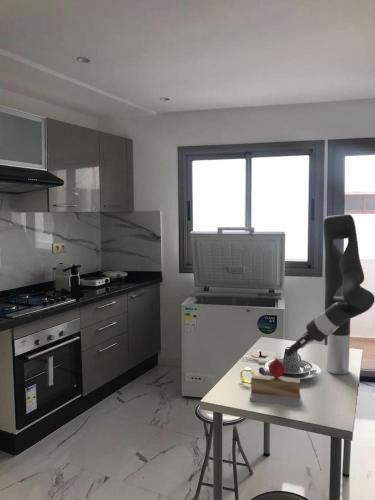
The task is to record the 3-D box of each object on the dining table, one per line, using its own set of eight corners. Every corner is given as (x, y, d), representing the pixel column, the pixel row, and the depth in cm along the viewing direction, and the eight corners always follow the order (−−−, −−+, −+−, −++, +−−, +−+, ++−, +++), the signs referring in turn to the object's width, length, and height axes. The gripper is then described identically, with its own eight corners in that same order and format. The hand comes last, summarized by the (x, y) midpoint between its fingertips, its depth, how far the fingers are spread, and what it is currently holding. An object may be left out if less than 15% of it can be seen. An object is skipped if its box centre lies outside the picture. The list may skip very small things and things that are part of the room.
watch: (255, 383, 178) (256, 369, 177) (252, 385, 175) (253, 371, 174) (241, 379, 181) (242, 365, 180) (239, 381, 178) (240, 367, 177)
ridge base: (253, 387, 172) (253, 384, 172) (299, 392, 168) (299, 389, 167) (249, 400, 161) (249, 397, 161) (299, 406, 156) (299, 403, 156)
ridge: (252, 389, 168) (252, 374, 167) (299, 394, 163) (299, 378, 163) (251, 392, 165) (251, 377, 164) (299, 398, 160) (299, 382, 159)
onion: (286, 377, 165) (286, 356, 164) (281, 382, 160) (282, 361, 159) (271, 374, 168) (272, 354, 167) (266, 379, 163) (267, 358, 162)
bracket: (274, 370, 192) (274, 364, 191) (291, 383, 178) (292, 377, 177) (245, 374, 188) (245, 368, 187) (260, 388, 174) (260, 381, 173)
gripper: (322, 313, 158) (291, 338, 166) (308, 321, 146) (276, 348, 154) (336, 329, 155) (304, 354, 163) (323, 339, 144) (290, 365, 152)
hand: (291, 351), depth 159 cm, fingers open, 8 cm apart
